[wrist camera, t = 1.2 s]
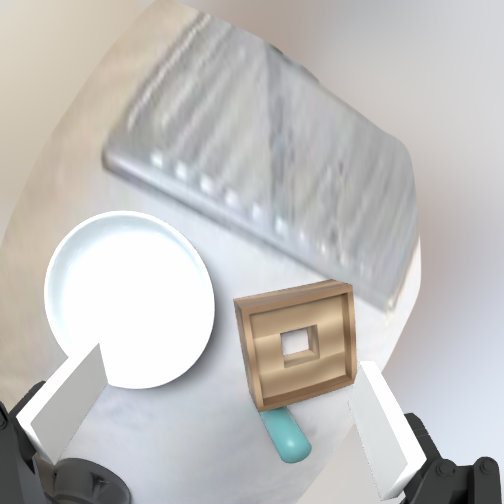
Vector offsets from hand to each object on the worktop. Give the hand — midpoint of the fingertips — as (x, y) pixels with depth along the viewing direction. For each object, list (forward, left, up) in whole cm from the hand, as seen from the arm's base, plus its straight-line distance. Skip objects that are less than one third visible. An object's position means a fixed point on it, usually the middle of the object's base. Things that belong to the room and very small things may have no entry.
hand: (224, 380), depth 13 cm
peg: (-20, -7, -26) cm, 34 cm away
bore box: (-9, -11, -26) cm, 30 cm away
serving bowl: (+1, +9, -26) cm, 28 cm away
